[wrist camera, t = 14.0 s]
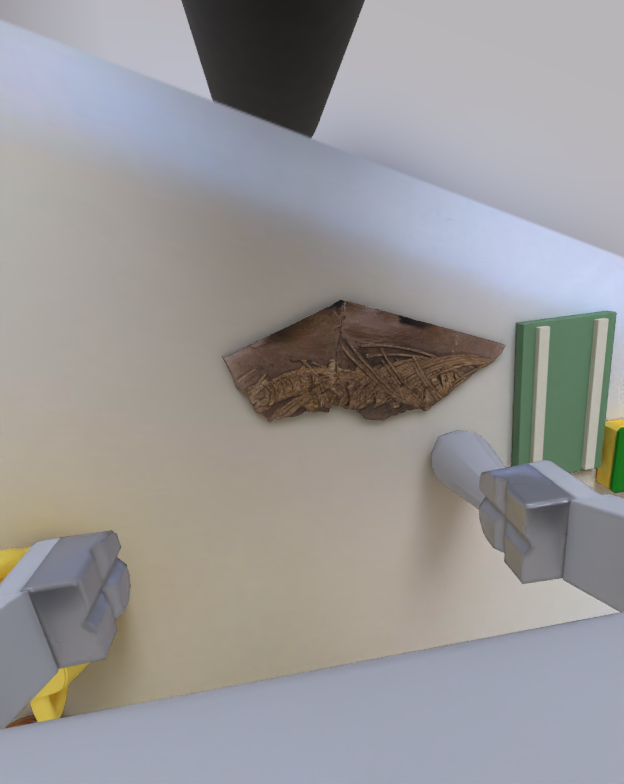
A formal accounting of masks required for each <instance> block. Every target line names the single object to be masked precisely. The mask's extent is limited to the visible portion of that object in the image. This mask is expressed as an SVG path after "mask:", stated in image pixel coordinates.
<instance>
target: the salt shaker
mask: <svg viewBox="0 0 624 784" xmlns="http://www.w3.org/2000/svg"><path fill="white" fill-rule="evenodd" d="M431 462H432V466H433V470H434V473H435V476H436V477H437V478H438V479H439V480H440V481H441V482H442V483H443V484H444V485H445V486H446V487H448V488H449V489H450V490H452V491H453V492H455V493H456V494H458V495H459V496H460V497H462V498H463V499H465V500H466V501H468V502H469V503H470V504H472V505H473V506H475V507H476V508H477V509H479V506H480V504H481V503H482V501H483V500H484V498H485V497H486V496H485V495H484V494H483V493H482V492H481V490H480V489H479V480H480V476H481V473H482V472H486V471H491V470H496V469H501V468H507V467H506V466H505V465H504V463H503V462H502V461H501V459H500V458H499V457H498V455H497V454H496V452H495V451H494V450H493V448H492V447H491V446H490V444H489V443H488V442H487V441H486V440H485V439H484V438H483V437H482V436H480V435H478V434H475V433H472V432H469V431H453V432H451V433H448V434H445V435H443V436H440V437H438V440H437V442H436V444H435V446H434V448H433V451H432V453H431Z"/></svg>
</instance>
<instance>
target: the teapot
mask: <svg viewBox="0 0 624 784" xmlns="http://www.w3.org/2000/svg"><path fill="white" fill-rule="evenodd" d="M30 548H31V547H29V548H25V549H15V548H11V549H6V550H2V551H0V583H1V582H2V581H3V580H4V579H5V577H6V576H7V575H8V574H9V573H10V571H11V570H12V569H13V568H14V567H15V565H16V564H17V563H18V562H19V561H20V559H21V558H22V557H23V556H24V555H25V553H26V552H27V551H28V550H29V549H30ZM88 664H89V663H85V664H80V665H75V666H71V667H66V668H61V669H58V670H59V672H58V673H57V674H56V675H55V676H54V677H53V678H52V679H51V680H50V681H49V682H48V683H47V684H46V685H45V687H44V688H43V689H42V690H41V691H40V692H39V693H38V694H37V695H36V696H35V697H34V698H33V699H32V700H31V701H30V705H31V708H32V711H33V713H34V716H35V718H36V720H37V721H38V722H42V721H48V720H53V719H58V718H60V717H61V715H62V712H63V709H64V706H65V702H66V698H67V693H68V687H69V683H70V682H71V681H72V680H73V679H75V678H76V677H77V676H78V675H79V674H80V672H81V671H82V670H83V669H84V668H85V667H86V666H87V665H88Z"/></svg>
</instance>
